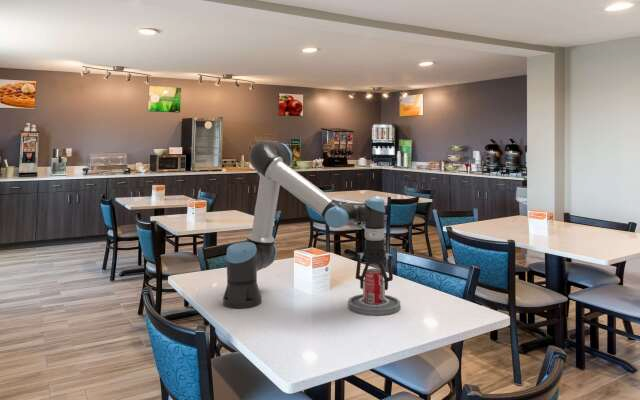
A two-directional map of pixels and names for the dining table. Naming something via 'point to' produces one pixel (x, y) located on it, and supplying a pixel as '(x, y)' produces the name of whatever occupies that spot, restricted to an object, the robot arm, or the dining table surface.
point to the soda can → (373, 287)
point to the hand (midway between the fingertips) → (373, 297)
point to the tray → (374, 306)
